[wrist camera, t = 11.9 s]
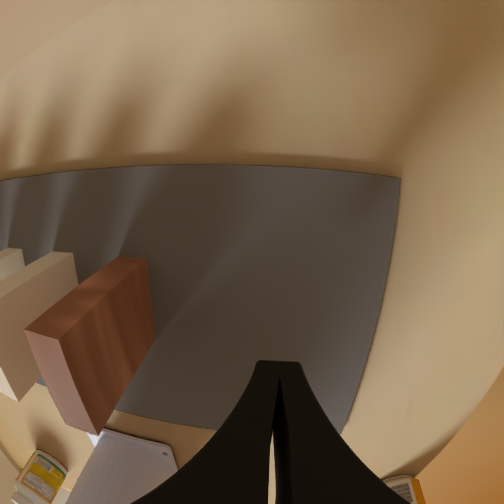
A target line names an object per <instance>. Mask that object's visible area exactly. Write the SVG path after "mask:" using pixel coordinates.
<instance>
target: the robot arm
mask: <svg viewBox="0 0 504 504" xmlns="http://www.w3.org/2000/svg"><path fill="white" fill-rule="evenodd" d="M272 432H273V441H274V459H275V477H276V501H275V504H411V503H409V502H408V501H407V500H405V499H404V498H402V497H401V496H400V495H399V494H397V493H396V492H395V491H393V490H392V489H391V488H390V487H388V486H387V485H386V484H385V483H384V482H383V481H382V480H381V479H380V478H378V477H377V476H376V475H375V474H374V473H373V472H372V471H371V470H370V469H369V468H368V467H367V466H366V465H365V464H364V463H363V462H362V461H361V460H360V459H359V458H358V457H357V456H356V454H355V453H354V452H353V451H352V450H351V448H350V447H349V446H348V445H347V444H346V442H345V441H344V440H343V439H342V437H341V436H340V434H339V433H338V432H337V430H336V429H335V427H334V426H333V424H332V423H331V422H330V420H329V418H328V417H327V415H326V414H325V412H324V410H323V409H322V407H321V405H320V404H319V402H318V400H317V398H316V397H315V395H314V393H313V391H312V389H311V387H310V385H309V383H308V380H307V378H306V376H305V374H304V371H303V368H302V365H301V364H300V363H299V362H294V361H272V360H259V361H257V362H256V365H255V369H254V372H253V374H252V377H251V379H250V381H249V383H248V385H247V387H246V389H245V391H244V392H243V394H242V396H241V397H240V399H239V401H238V403H237V404H236V406H235V407H234V409H233V410H232V412H231V413H230V415H229V416H228V417H227V419H226V420H225V422H224V423H223V424H222V426H221V427H220V428H219V429H218V431H217V432H216V433H215V434H214V436H213V437H212V438H211V439H210V440H209V441H208V442H207V443H206V445H205V446H204V447H203V448H202V449H201V450H200V451H199V452H198V453H197V454H196V455H195V456H194V457H193V458H192V459H191V460H190V461H189V462H188V463H186V464H185V465H184V466H183V467H182V468H181V469H180V470H178V468H177V465H176V462H175V459H174V456H173V452H172V449H171V447H170V446H168V445H166V444H162V443H157V442H153V441H148V440H144V439H140V438H136V437H133V436H129V435H125V434H122V433H118V432H115V431H112V430H108V429H105V428H103V429H102V431H101V433H100V435H99V436H96V435H93V434H90V433H88V432H87V434H88V436H89V438H90V439H91V441H92V443H93V445H94V446H95V448H94V450H93V452H92V454H91V456H90V457H89V459H88V461H87V463H86V465H85V467H84V469H83V471H82V472H81V474H80V476H79V478H78V480H77V482H76V484H75V486H74V488H73V490H72V492H71V494H70V495H69V498H68V500H67V502H66V503H65V504H268V485H269V459H270V444H271V438H272Z"/></svg>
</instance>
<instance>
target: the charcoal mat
mask: <svg viewBox="0 0 504 504" xmlns="http://www.w3.org/2000/svg"><path fill="white" fill-rule="evenodd" d="M400 180H401V178H397V177H390V176H383V175H375V174H366V173H357V172H348V171H337V170H326V169H313V168H299V167H282V166H260V165H209V164H203V165H153V166H132V167H115V168H102V169H90V170H79V171H69V172H60V173H52V174H44V175H36V176H29V177H22V178H16V179H9V180H3V181H0V251H2V250H4V249H6V248H17V249H22V253H23V258H24V263H25V266H27V265H29V264H31V263H32V262H34V261H36V260H38V259H40V258H41V257H43V256H45V255H47V254H49V253H51V252H52V251H54V252H67V253H73V255H74V262H75V268H76V274H77V279H78V284H79V285H80V284H81V283H82V282H84V281H85V280H86V279H88V278H89V277H90V276H92V275H93V274H94V273H96V272H97V271H98V270H100V269H101V268H102V267H104V266H105V265H107V264H108V263H109V262H111V261H112V260H114V259H115V258H116V257H118V256H120V257H133V258H147V267H148V277H149V287H150V296H151V305H152V312H153V320H154V327H155V334H156V339H155V341H154V343H153V344H152V346H151V348H150V349H149V351H148V353H147V354H146V356H145V358H144V359H143V361H142V362H141V364H140V366H139V367H138V369H137V371H136V373H135V374H134V376H133V378H132V379H131V381H130V383H129V384H128V386H127V388H126V389H125V391H124V393H123V395H122V396H121V398H120V400H119V401H118V403H117V405H116V407H115V408H114V410H118V411H121V412H125V413H129V414H133V415H137V416H141V417H146V418H150V419H155V420H159V421H164V422H170V423H175V424H180V425H186V426H192V427H199V428H206V429H214V430H218V429H219V428H220V427H221V426H222V424H223V423H224V422H225V420H226V419H227V417H228V416H229V415H230V413H231V412H232V410H233V409H234V407H235V406H236V404H237V403H238V401H239V399H240V397H241V396H242V394H243V392H244V391H245V389H246V387H247V385H248V383H249V381H250V379H251V377H252V374H253V372H254V369H255V365H256V362H257V361H259V360H272V361H294V362H299V363H300V364H301V365H302V368H303V371H304V374H305V376H306V378H307V380H308V383H309V385H310V387H311V389H312V391H313V393H314V395H315V397H316V398H317V400H318V402H319V404H320V405H321V407H322V409H323V410H324V412H325V414H326V415H327V417H328V418H329V420H330V422H331V423H332V424H333V426H334V427H335V429H336V430H337V432H338V433H339V434H341V433H342V431H343V428H344V425H345V423H346V420H347V417H348V415H349V412H350V409H351V407H352V404H353V401H354V398H355V395H356V392H357V389H358V386H359V383H360V380H361V377H362V374H363V370H364V367H365V364H366V360H367V357H368V354H369V350H370V346H371V343H372V339H373V335H374V332H375V328H376V324H377V320H378V315H379V311H380V307H381V303H382V298H383V293H384V289H385V284H386V279H387V274H388V268H389V263H390V257H391V251H392V245H393V239H394V232H395V225H396V218H397V209H398V201H399V191H400ZM36 383H39V384H41V385H43V386H46V384H45V382H44V380H43V377H42V376H41V377H40V378H39V379H38V380H37V382H36ZM46 387H47V386H46ZM272 435H273V432H272Z"/></svg>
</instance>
